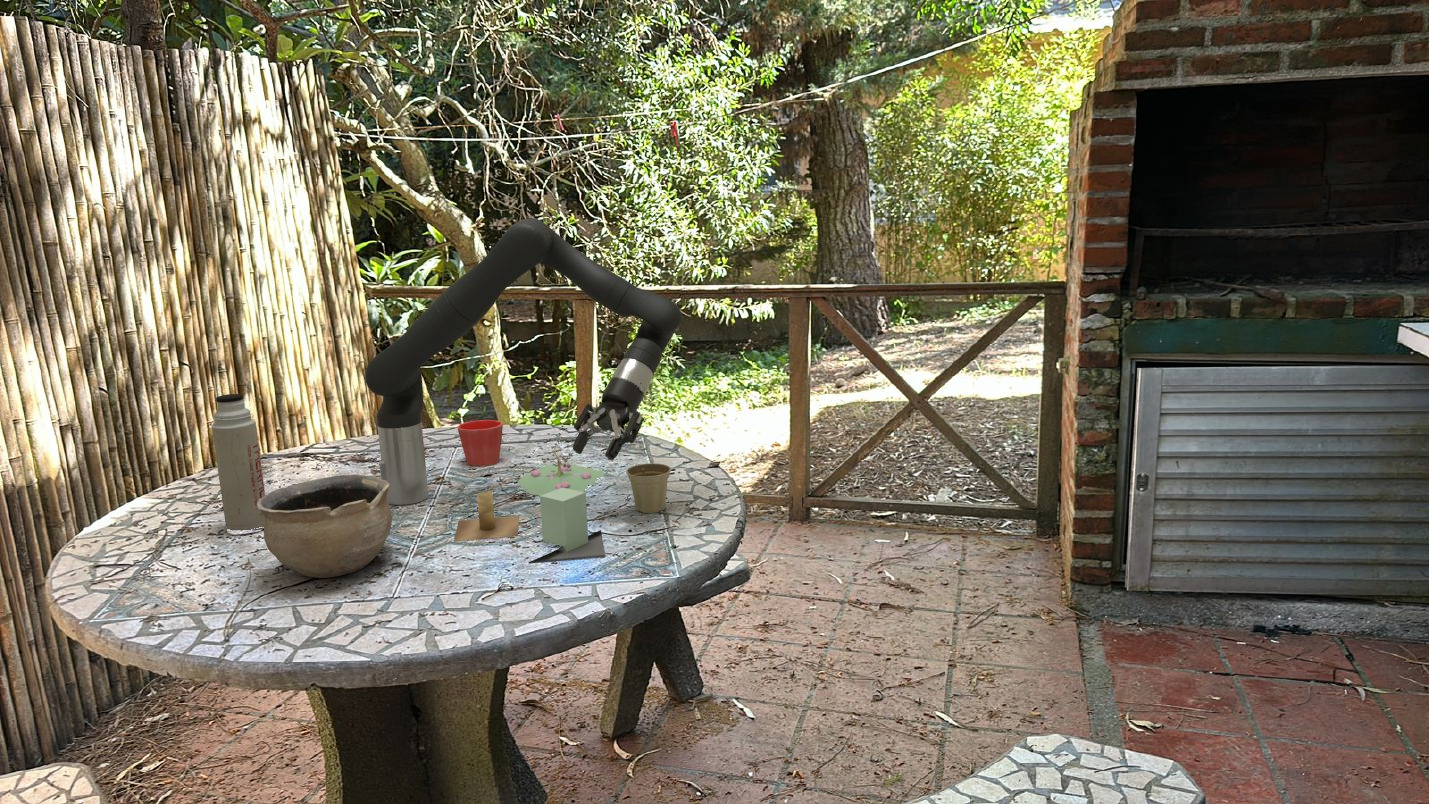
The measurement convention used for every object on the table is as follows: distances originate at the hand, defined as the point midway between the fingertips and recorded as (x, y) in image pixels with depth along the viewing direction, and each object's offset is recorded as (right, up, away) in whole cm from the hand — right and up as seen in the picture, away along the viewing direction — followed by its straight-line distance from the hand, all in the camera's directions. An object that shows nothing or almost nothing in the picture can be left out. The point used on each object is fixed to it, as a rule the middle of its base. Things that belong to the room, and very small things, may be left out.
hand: (592, 455), depth 191 cm
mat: (-4, -17, -4) cm, 18 cm away
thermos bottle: (-72, -16, +11) cm, 74 cm away
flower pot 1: (-34, -5, +54) cm, 64 cm away
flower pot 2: (+10, -12, +16) cm, 23 cm away
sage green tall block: (-4, -17, -4) cm, 18 cm away
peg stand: (-21, -16, +3) cm, 27 cm away
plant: (-12, -9, +36) cm, 39 cm away
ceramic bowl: (-46, -20, -12) cm, 51 cm away
